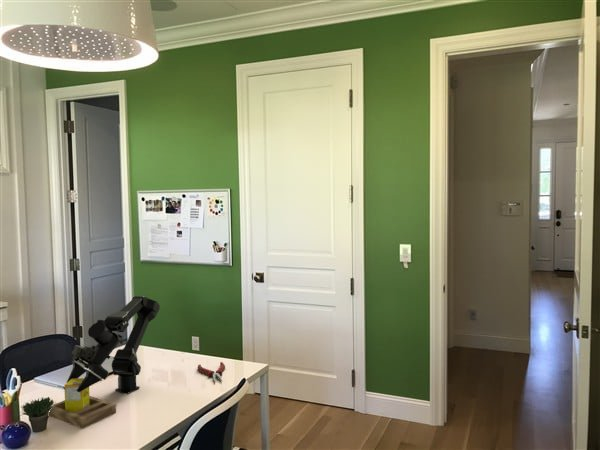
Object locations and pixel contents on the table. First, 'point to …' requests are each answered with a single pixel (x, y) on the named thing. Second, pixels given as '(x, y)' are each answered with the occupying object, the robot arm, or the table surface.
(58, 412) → the socket plate
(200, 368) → the pliers
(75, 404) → the supplement box
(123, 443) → the table surface
